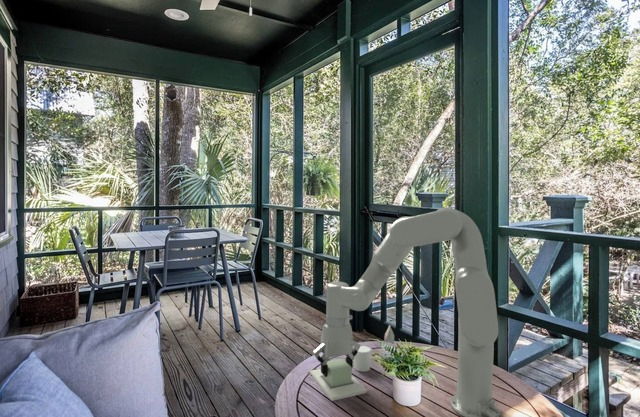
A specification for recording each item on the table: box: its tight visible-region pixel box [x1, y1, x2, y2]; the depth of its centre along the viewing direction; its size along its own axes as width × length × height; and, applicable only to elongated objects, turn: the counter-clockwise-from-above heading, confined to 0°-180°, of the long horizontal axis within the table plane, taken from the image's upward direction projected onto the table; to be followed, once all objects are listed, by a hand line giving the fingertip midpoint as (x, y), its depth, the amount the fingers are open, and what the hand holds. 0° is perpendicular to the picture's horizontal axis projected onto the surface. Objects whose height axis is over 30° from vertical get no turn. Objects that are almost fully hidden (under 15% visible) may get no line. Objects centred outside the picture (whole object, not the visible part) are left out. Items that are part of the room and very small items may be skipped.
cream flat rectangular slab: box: [309, 368, 367, 402], centre depth 123 cm, size 18×12×1 cm, turn 23°
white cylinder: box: [353, 344, 373, 373], centre depth 133 cm, size 7×7×7 cm
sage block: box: [323, 358, 353, 387], centre depth 123 cm, size 7×7×5 cm
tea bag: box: [383, 324, 395, 345], centre depth 146 cm, size 4×7×10 cm, turn 168°
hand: (336, 372), depth 123 cm, fingers open, 8 cm apart
